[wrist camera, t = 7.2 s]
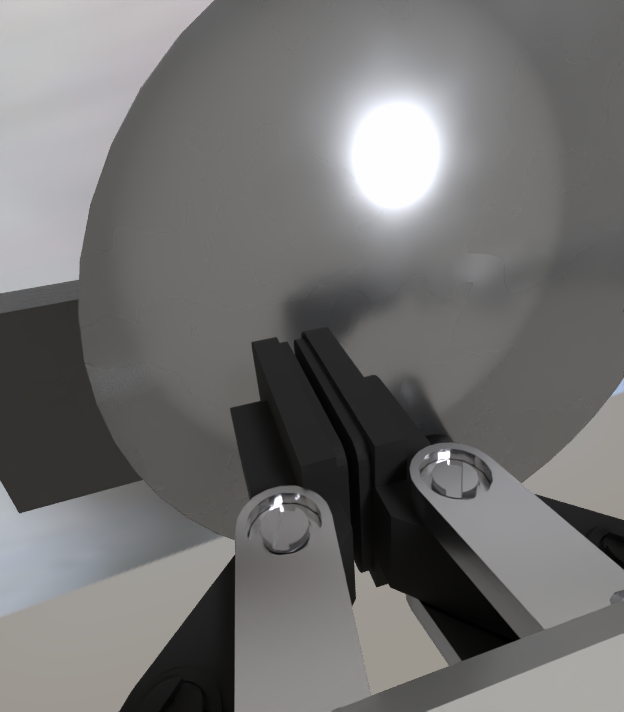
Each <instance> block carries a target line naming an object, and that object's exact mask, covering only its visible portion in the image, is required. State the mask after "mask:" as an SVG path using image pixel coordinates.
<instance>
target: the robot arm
mask: <svg viewBox="0 0 624 712" xmlns="http://www.w3.org/2000/svg"><path fill="white" fill-rule="evenodd" d="M251 345H252V353H253V359H254V365H255V371H256V377H257V384H258V390H259V396H260V401H258V402H253V403H249V404H245V405H240V406H236V407H232V408H230V412H231V417H232V422H233V427H234V432H235V436H236V441H237V446H238V451H239V455H240V460H241V464H242V469H243V473H244V477H245V482H246V486H247V490H248V494H249V499H250V501H249V502H248V503H247V504H246V505H245V506H244V507H243V509H242V511H241V513H240V514H239V516H238V519H237V524H236V529H235V555H234V557H233V558H232V559H231V561H230V562H229V563H228V565H227V566H226V567H225V568H224V570H223V571H222V572H221V574H220V575H219V577H218V578H217V579H216V580H215V582H214V583H213V584H212V586H211V587H210V588H209V590H208V591H207V592H206V593H205V595H204V596H203V597H202V599H201V600H200V601H199V603H198V604H197V605H196V607H195V608H194V609H193V611H192V612H191V613H190V615H189V616H188V617H187V619H186V620H185V621H184V623H183V624H182V626H180V628H179V629H178V630H177V632H176V633H175V634H174V636H173V637H172V638H171V640H170V641H169V642H168V644H167V645H166V646H165V648H164V649H163V650H162V652H161V653H160V654H159V656H158V657H157V658H156V660H155V661H154V662H153V664H152V665H151V666H150V667H149V669H148V670H147V671H146V673H145V674H144V675H143V677H142V678H141V679H140V681H139V682H138V683H137V685H136V686H135V687H134V689H133V690H132V691H131V693H130V695H129V696H128V698H127V700H126V701H125V703H124V705H123V706H122V708H121V710H120V711H119V712H624V520H621V519H618V518H615V517H611V516H608V515H604V514H601V513H597V512H594V511H591V510H587V509H584V508H580V507H577V506H574V505H570V504H567V503H564V502H560V501H556V500H553V499H550V498H546V497H543V496H540V495H536V494H533V493H532V492H531V491H530V490H529V489H527V488H526V487H525V486H524V485H523V484H522V483H520V482H519V481H518V480H517V479H516V478H514V477H513V476H512V475H511V474H510V473H509V472H507V471H506V470H505V469H504V468H503V467H501V466H500V465H499V464H498V463H497V462H496V461H494V460H493V459H492V458H491V457H489V456H488V455H486V454H485V453H483V452H482V451H480V450H478V449H476V448H473V447H471V446H468V445H464V444H458V443H438V444H434V445H431V443H430V442H429V441H428V439H427V438H426V437H425V436H424V434H423V433H422V432H421V431H420V429H419V428H418V427H417V425H416V424H415V423H414V422H413V420H412V419H411V418H410V416H409V415H408V414H407V413H406V411H405V410H404V409H403V407H402V406H401V405H400V404H399V402H398V401H397V400H396V398H395V397H394V396H393V395H392V393H391V392H390V391H389V389H388V388H387V387H386V386H385V384H384V383H383V382H382V380H381V379H380V378H379V377H378V376H377V375H370V376H366V377H364V376H363V375H362V374H361V372H360V371H359V370H358V368H357V367H356V365H355V364H354V363H353V361H352V360H351V359H350V357H349V356H348V354H347V353H346V352H345V350H344V349H343V348H342V346H341V345H340V343H339V342H338V341H337V339H336V338H335V337H334V335H333V334H332V332H331V331H330V330H329V328H328V327H322V328H317V329H312V330H308V331H303V332H302V333H301V339H296V340H294V352H295V354H294V352H293V351H292V349H291V347H290V345H289V343H288V342H287V341H286V342H281V343H280V342H279V340H278V338H277V337H273V338H268V339H263V340H259V341H254V342H251ZM354 561H355V563H356V565H357V567H358V570H359V571H360V572H361V573H362V572H365V571H369V572H370V574H371V576H372V578H373V580H374V583H375V585H376V587H379V586H382V585H385V584H389V586H390V587H391V588H393V589H396V590H398V591H400V592H402V593H405V594H406V600H407V602H408V604H409V606H410V608H411V610H412V612H413V613H414V615H415V616H416V618H417V619H418V621H419V622H420V623H421V625H422V626H423V628H424V629H425V631H426V632H427V634H428V635H429V637H430V638H431V640H432V641H433V643H434V644H435V646H436V647H437V649H438V650H439V652H440V653H441V654H442V656H443V657H444V659H445V660H446V662H447V663H448V665H449V666H448V667H446V668H443V669H441V670H438V671H435V672H432V673H430V674H427V675H425V676H422V677H419V678H417V679H414V680H411V681H409V682H406V683H404V684H401V685H398V686H396V687H393V688H391V689H388V690H385V691H383V692H380V693H378V694H375V695H372V696H371V692H370V688H369V683H368V679H367V674H366V669H365V665H364V660H363V656H362V651H361V646H360V642H359V637H358V633H357V628H356V623H355V619H354V614H353V610H352V606H353V604H354V601H355V599H356V592H355V573H354Z"/></svg>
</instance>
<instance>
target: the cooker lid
mask: <svg viewBox="0 0 624 712" xmlns="http://www.w3.org/2000/svg"><path fill="white" fill-rule="evenodd" d="M322 327H328V328H329V330H330V331H331V332H332V334H333V335H334V337H335V338H336V339H337V341H338V342H339V343H340V345H341V346H342V348H343V349H344V350H345V352H346V353H347V354H348V356H349V357H350V359H351V360H352V361H353V363H354V364H355V365H356V367H357V368H358V370H359V371H360V372H361V374H362V375H363V376H364V377H366V376H370V375H377V376H378V377H379V378H380V379H381V380H382V382H383V383H384V384H385V386H386V387H387V388H388V389H389V391H390V392H391V393H392V395H393V396H394V397H395V398H396V400H397V401H398V402H399V404H400V405H401V406H402V407H403V409H404V410H405V411H406V413H407V414H408V415H409V416H410V418H411V419H412V420H413V422H414V423H415V424H416V425H417V427H418V428H419V429H420V431H421V432H422V433H423V434H424V436H425V437H426V438H427V439H428V441H429V442H430V443H431V445H434V444H438V443H458V444H464V445H468V446H471V447H473V448H476V449H478V450H480V451H482V452H483V453H485V454H486V455H488V456H489V457H491V458H492V459H493V460H494V461H496V462H497V463H498V464H499V465H500V466H501V467H503V468H504V469H505V470H506V471H507V472H509V473H510V474H511V475H512V476H513V477H514V478H516V479H517V480H518V481H519V482H520V483H522V482H524V481H525V480H526V479H527V478H529V477H530V476H531V475H532V474H534V473H535V472H536V471H537V470H539V469H540V468H541V467H543V466H544V465H545V464H546V463H547V462H549V461H550V460H551V459H552V458H553V457H554V456H555V455H556V454H557V453H558V452H560V451H561V450H562V449H563V448H564V447H565V446H566V445H567V444H568V443H569V442H570V441H571V440H572V439H573V438H574V437H575V436H576V435H577V434H578V433H579V432H580V431H581V430H582V429H583V428H584V427H585V425H586V424H587V423H588V422H589V421H590V420H591V419H592V418H593V417H594V416H595V415H596V413H597V412H598V411H599V409H600V408H601V407H602V406H603V405H604V403H605V402H606V401H607V400H608V398H609V397H610V396H611V395H612V394H613V392H614V391H615V390H616V388H617V387H618V385H619V384H620V382H621V381H622V379H623V378H624V0H214V1H213V2H212V3H211V4H210V5H209V6H208V7H207V8H206V9H205V10H204V11H203V12H202V13H201V14H200V15H199V16H198V17H197V18H196V19H195V20H194V21H193V22H192V23H191V24H190V25H189V26H188V27H187V28H186V29H185V30H184V31H183V32H182V33H181V35H180V36H179V37H178V38H177V39H176V40H175V42H174V43H173V45H172V46H171V47H170V49H169V50H168V51H167V53H166V54H165V55H164V57H163V58H162V60H161V61H160V62H159V64H158V65H157V66H156V68H155V69H154V71H153V72H152V73H151V75H150V76H149V77H148V79H147V80H146V81H145V83H144V84H143V86H142V87H141V88H140V90H139V92H138V94H137V96H136V98H135V100H134V102H133V103H132V105H131V107H130V109H129V111H128V113H127V115H126V117H125V119H124V121H123V123H122V124H121V126H120V128H119V130H118V132H117V134H116V136H115V138H114V140H113V142H112V144H111V147H110V150H109V153H108V156H107V158H106V161H105V164H104V167H103V170H102V173H101V176H100V179H99V181H98V184H97V187H96V190H95V193H94V196H93V199H92V202H91V204H90V210H89V215H88V220H87V226H86V231H85V236H84V242H83V247H82V252H81V258H80V274H79V280H76V281H70V282H64V283H58V284H53V285H47V286H41V287H35V288H29V289H24V290H18V291H12V292H6V293H1V294H0V480H1V482H2V484H3V486H4V487H5V489H6V491H7V493H8V494H9V496H10V498H11V500H12V501H13V503H14V505H15V507H16V508H17V510H18V512H19V513H22V512H26V511H30V510H33V509H37V508H41V507H44V506H48V505H52V504H55V503H59V502H63V501H66V500H70V499H74V498H77V497H81V496H85V495H88V494H92V493H96V492H99V491H103V490H107V489H110V488H114V487H118V486H121V485H125V484H129V483H132V482H136V481H140V480H144V481H145V482H146V483H147V484H148V485H149V486H150V487H151V488H152V489H153V490H154V491H155V492H156V493H157V494H158V495H159V496H160V497H161V498H162V499H163V500H165V501H166V502H167V503H169V504H170V505H171V506H173V507H174V508H175V509H177V510H178V511H179V512H181V513H182V514H183V515H185V516H186V517H187V518H189V519H191V520H193V521H195V522H196V523H198V524H200V525H202V526H204V527H206V528H208V529H209V530H211V531H213V532H215V533H217V534H220V535H222V536H225V537H228V538H230V539H233V540H235V529H236V524H237V519H238V516H239V514H240V513H241V511H242V509H243V507H244V506H245V505H246V504H247V503H248V502H249V501H250V499H249V494H248V490H247V486H246V482H245V477H244V473H243V469H242V464H241V460H240V455H239V451H238V446H237V441H236V436H235V432H234V427H233V422H232V417H231V412H230V408H232V407H236V406H240V405H245V404H249V403H253V402H258V401H260V396H259V390H258V384H257V377H256V371H255V365H254V359H253V353H252V345H251V342H254V341H259V340H263V339H268V338H273V337H277V338H278V340H279V342H280V343H281V342H286V341H287V342H288V343H289V345H290V347H291V349H292V351H293V352H294V340H296V339H301V333H302V332H303V331H308V330H312V329H317V328H322ZM294 354H295V352H294Z"/></svg>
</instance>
